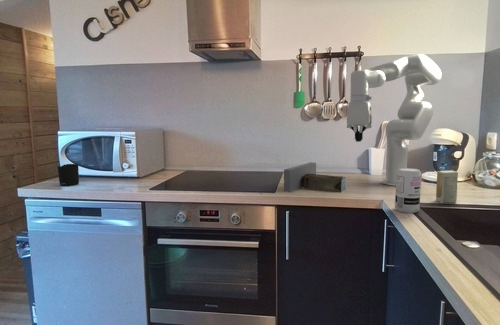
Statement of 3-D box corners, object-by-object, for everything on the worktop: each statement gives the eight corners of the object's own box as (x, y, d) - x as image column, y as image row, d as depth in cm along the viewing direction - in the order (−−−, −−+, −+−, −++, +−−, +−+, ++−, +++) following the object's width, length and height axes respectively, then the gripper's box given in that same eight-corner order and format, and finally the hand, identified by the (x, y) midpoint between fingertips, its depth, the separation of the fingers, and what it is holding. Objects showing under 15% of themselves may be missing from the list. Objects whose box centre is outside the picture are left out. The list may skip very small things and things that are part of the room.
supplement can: (398, 206, 137) (400, 167, 135) (422, 209, 132) (424, 169, 130) (391, 210, 131) (393, 170, 129) (415, 214, 126) (418, 172, 124)
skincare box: (450, 200, 146) (452, 170, 144) (456, 202, 142) (459, 172, 140) (434, 200, 146) (436, 170, 144) (440, 203, 141) (442, 172, 140)
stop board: (315, 182, 185) (316, 162, 183) (289, 192, 162) (289, 170, 161) (310, 181, 187) (310, 162, 185) (283, 191, 164) (283, 169, 162)
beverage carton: (341, 192, 161) (342, 178, 160) (301, 189, 170) (301, 175, 169) (346, 189, 168) (346, 175, 167) (306, 185, 177) (307, 172, 176)
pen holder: (57, 184, 184) (55, 165, 182) (77, 182, 190) (75, 163, 188) (61, 187, 177) (59, 167, 175) (81, 184, 182) (80, 165, 181)
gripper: (379, 99, 157) (378, 141, 160) (345, 100, 165) (344, 140, 168) (374, 99, 151) (373, 142, 154) (339, 100, 159) (339, 141, 162)
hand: (358, 141), depth 161 cm, fingers closed
